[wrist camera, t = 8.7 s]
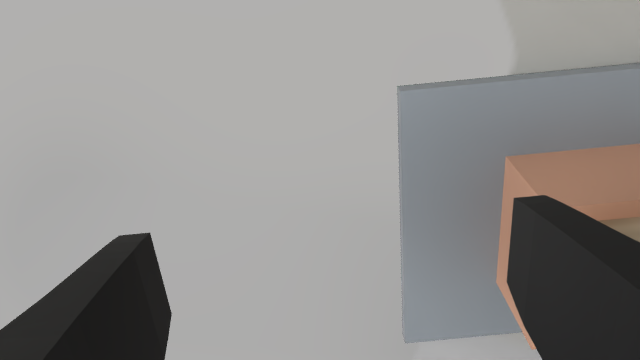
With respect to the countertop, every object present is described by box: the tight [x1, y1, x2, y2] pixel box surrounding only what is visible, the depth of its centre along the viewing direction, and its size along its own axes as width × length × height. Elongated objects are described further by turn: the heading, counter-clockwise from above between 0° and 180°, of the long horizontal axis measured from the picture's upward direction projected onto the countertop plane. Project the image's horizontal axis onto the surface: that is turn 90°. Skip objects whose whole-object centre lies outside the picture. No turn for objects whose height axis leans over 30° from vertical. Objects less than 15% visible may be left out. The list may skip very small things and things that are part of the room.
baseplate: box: [397, 63, 640, 343], centre depth 23 cm, size 14×12×1 cm
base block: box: [496, 144, 640, 349], centre depth 21 cm, size 6×6×4 cm
